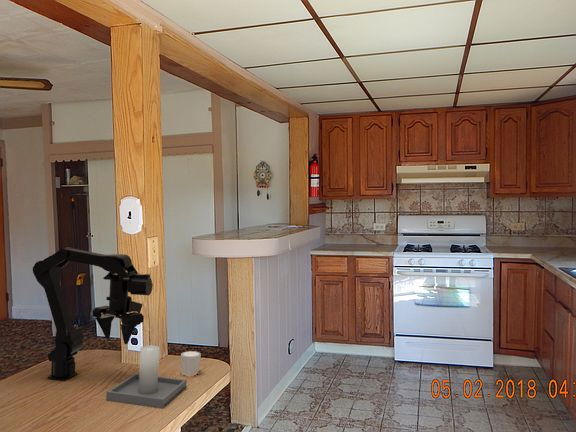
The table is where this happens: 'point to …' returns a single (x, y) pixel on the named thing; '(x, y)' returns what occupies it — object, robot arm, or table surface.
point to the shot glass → (190, 362)
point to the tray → (159, 399)
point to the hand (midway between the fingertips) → (116, 341)
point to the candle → (148, 369)
